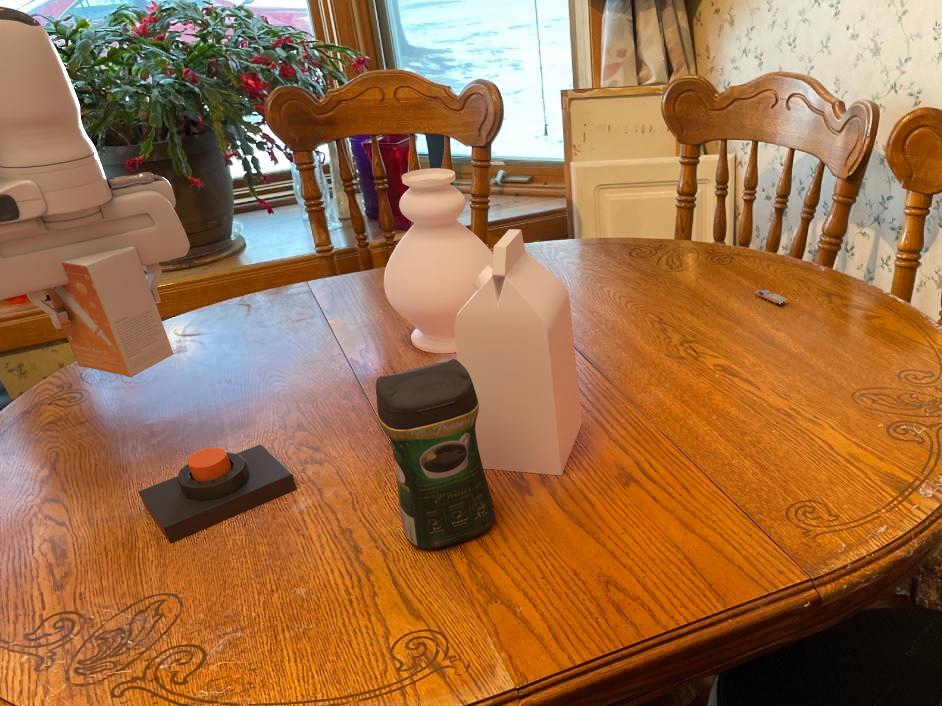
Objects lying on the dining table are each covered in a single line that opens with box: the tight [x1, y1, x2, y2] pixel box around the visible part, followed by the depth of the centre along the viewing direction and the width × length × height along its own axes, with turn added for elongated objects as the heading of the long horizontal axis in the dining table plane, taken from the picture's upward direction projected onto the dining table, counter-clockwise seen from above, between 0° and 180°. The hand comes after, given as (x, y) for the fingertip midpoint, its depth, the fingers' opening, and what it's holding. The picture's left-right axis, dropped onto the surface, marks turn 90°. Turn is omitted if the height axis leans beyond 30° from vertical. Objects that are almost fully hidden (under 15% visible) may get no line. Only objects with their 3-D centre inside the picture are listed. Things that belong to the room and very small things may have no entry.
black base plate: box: [138, 443, 297, 544], centre depth 88 cm, size 14×9×4 cm, turn 132°
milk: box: [454, 228, 583, 477], centre depth 89 cm, size 12×12×26 cm
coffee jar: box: [375, 358, 496, 551], centre depth 78 cm, size 10×8×19 cm
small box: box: [45, 247, 174, 378], centre depth 86 cm, size 8×6×13 cm
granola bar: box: [753, 288, 788, 305], centre depth 133 cm, size 7×2×1 cm, turn 33°
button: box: [187, 447, 231, 482], centre depth 86 cm, size 4×4×2 cm
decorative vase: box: [383, 167, 493, 354], centre depth 117 cm, size 18×18×25 cm
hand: (108, 314), depth 86 cm, fingers closed on small box, 8 cm apart
